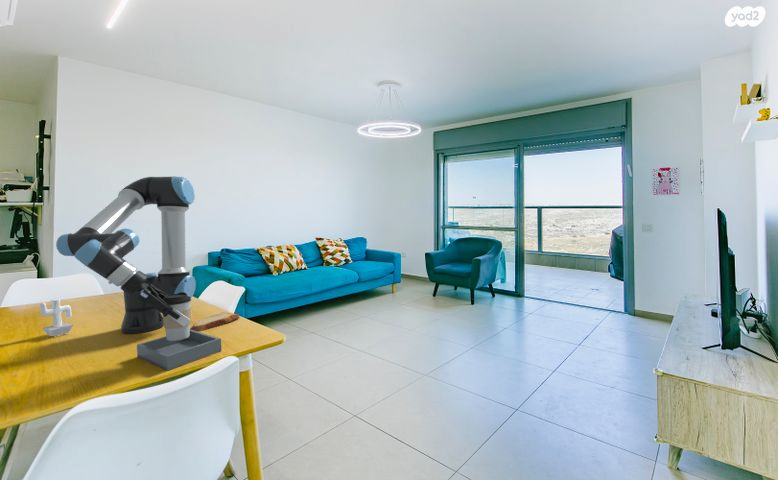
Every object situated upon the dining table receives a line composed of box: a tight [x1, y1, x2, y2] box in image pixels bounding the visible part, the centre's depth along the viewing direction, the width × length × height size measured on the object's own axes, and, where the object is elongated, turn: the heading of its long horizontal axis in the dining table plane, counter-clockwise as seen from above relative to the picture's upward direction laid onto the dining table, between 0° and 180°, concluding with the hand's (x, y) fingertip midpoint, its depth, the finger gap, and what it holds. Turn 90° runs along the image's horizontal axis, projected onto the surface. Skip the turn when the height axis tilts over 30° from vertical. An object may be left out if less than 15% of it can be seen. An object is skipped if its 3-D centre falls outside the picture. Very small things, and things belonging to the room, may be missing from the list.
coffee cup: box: [161, 292, 192, 341], centre depth 121 cm, size 9×9×15 cm
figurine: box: [39, 298, 74, 337], centre depth 143 cm, size 7×9×15 cm
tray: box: [136, 328, 223, 372], centre depth 122 cm, size 20×18×4 cm
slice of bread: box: [191, 312, 241, 332], centre depth 156 cm, size 18×18×4 cm
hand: (187, 319), depth 122 cm, fingers closed on coffee cup, 9 cm apart
